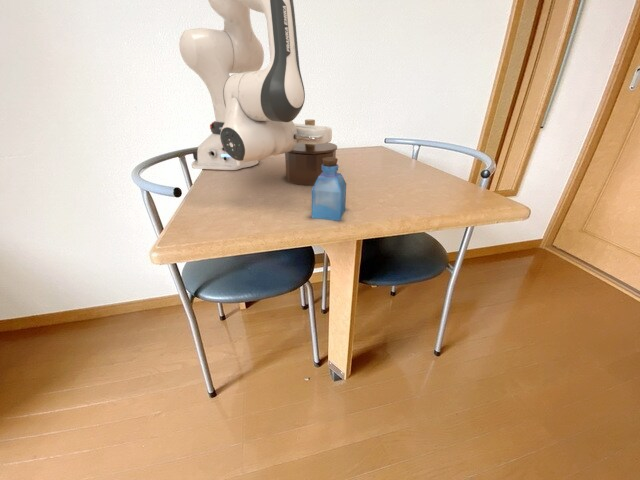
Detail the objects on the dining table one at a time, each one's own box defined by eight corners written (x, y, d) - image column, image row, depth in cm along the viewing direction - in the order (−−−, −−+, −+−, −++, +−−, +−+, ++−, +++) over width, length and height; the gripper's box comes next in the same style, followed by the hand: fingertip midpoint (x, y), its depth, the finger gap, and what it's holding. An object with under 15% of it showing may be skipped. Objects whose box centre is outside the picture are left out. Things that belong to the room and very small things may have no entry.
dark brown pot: (285, 185, 83) (284, 155, 79) (287, 171, 96) (286, 144, 92) (337, 185, 84) (338, 154, 80) (332, 171, 97) (332, 144, 93)
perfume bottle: (345, 209, 68) (347, 156, 62) (340, 220, 62) (342, 163, 57) (318, 207, 69) (319, 155, 63) (311, 217, 64) (311, 161, 58)
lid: (281, 156, 79) (279, 123, 75) (284, 145, 93) (282, 116, 89) (340, 155, 80) (341, 123, 76) (334, 144, 94) (335, 117, 90)
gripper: (314, 125, 67) (344, 119, 78) (249, 118, 77) (283, 114, 88) (314, 153, 70) (342, 144, 81) (252, 143, 80) (284, 137, 91)
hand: (311, 128), depth 84 cm, fingers closed on lid, 3 cm apart
